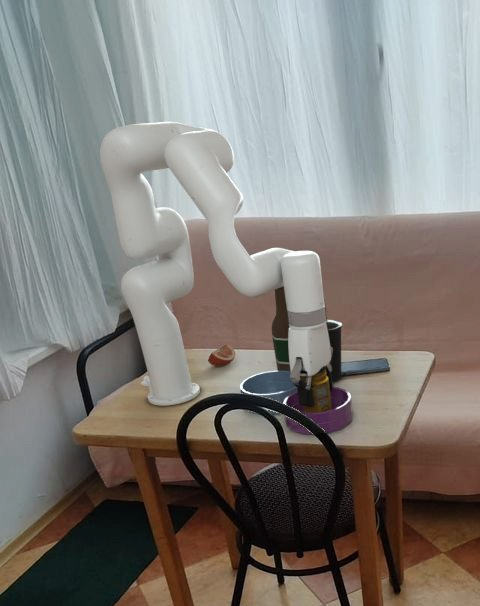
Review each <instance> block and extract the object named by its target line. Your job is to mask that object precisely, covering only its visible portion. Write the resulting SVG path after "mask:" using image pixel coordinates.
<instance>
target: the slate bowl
mask: <svg viewBox="0 0 480 606" xmlns="http://www.w3.org/2000/svg"><path fill="white" fill-rule="evenodd" d="M290 374H291V371H278V370H270V371H263V372H260V373H256V374H254V375H251V376H248V377H247V378H245V379H244V380H242V382H241V383H240V384H239V389H240V394H241V393H243V394H253V395H258V396H263V397H267V398H271V399H273V400H277V401H279V402H281V403H283V402H284V400H285V398H286V397H287V396H289V395H290V394H292V393H294V392H296V391H298V390H297V389H296V386H295V385H294V384H293V382H292V380H291V379H290ZM246 411H248V410H246ZM248 412H249V413H252V414H255V415H257V414H256V413H254V412H251V411H248ZM268 412H270V413H271V414H272V415H279V414H280V413H276V412H273V411H270V410H268Z"/></svg>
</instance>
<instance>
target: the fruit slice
mask: <svg viewBox="0 0 480 606" xmlns="http://www.w3.org/2000/svg"><path fill="white" fill-rule="evenodd" d="M235 357H236V351H235V349H234V348H233V347H232V346H231V345H230V344H229V343H225V344H224V345H223V346H221V347H220V348H218V349H216V350H214V351H212V352H211V353H210V355H209V357H208V359H207V362H208V363H209V364H210V365H211V366H214V367H225V366H228V365H229V364H230V363H232V362H233V361H234V359H235Z"/></svg>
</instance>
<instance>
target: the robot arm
mask: <svg viewBox="0 0 480 606" xmlns="http://www.w3.org/2000/svg"><path fill="white" fill-rule="evenodd" d="M99 159H100V160H99V161H100V166H101V169H102V172H103V175H104V177H105V180H106V183H107V185H108V189H109V193H110V197H111V203H112V208H113V214H114V219H115V224H116V229H117V235H118V240H119V244H120V247H121V249H122V252H123V253H124V254H125V256H126V257H128V258H129V259H132V260H137V261H141V260H147V259H151V258H153V257H158V259H156V260H153V261H149V262H146V263H142V264H139V265H136V266H134V267H132V268H130V269H129V270H126V272H125V273H124V274H123V276H122V277H121V281H120V290H121V293H122V295H123V296H122V297H123V298H124V301H125V303H126V305H127V306H128V309H129V311H130V314H131V316H132V319H133V323H134V327H135V329H136V332H137V337H138V340H139V343H140V347H141V351H142V355H143V359H144V364H145V366H146V367H145V368H146V370H147V374H148V375H145V376H144V377H143V380H142V381H141V382H140V386H141V387H142V388H148V390H149V392H148V393H147V395H146V398H147V401H148V402H149V403H150V404H151V405H154V406H158V407H159V406H160V407H163V406H164V407H165V406H166V407H167V406H175V405H180V404H183V403H187V402H189V401H192V400H193V399H195V398H197V397H198V396H199V394H200V393H201V388H200V385H199V384H198V383H196V382H194V381H193V382H192V377H191V373H190V368H189V363H188V359H187V355H186V350H185V345H184V341H183V337H182V333H181V328H180V325H179V321H178V319H177V317H176V316H175V315H174V313H173V312H172V311H171V309H170V308H169V307H168V304H169V303H172V302H173V301H176V300H179V299H181V298H183V297H185V296H187V295H189V293H191V291H192V290H193V288H194V283H195V272H194V264H193V258H192V249H191V242H190V236H189V234H190V233H189V231H188V227H187V225H186V223H185V220H184V219H183V217H182V216H181V214H179V212H178V211H176V210H175V209H173V208H171V207H167V206H161V207H156V203H155V196H154V192H153V189H152V186H151V185H150V183H149V181H148V179H147V178H146V177H145V176H144V175H143V174H142V173H145V172H152V171H159V170H164V169H169V171H171V172H172V174H173V176H174V177H175V178H176V180H177V182H178V183H179V184H180V185H181V187H182V188H183V190H184V191H185V192H186V193H187V195H188V197H189V198H190V199H191V201H192V202H193V203H194V205H195V206H196V207H197V210H198V211H199V212H200V213H201V214H202V216H203V218H204V219H205V220H206V222H207V227H208V229H207V230H208V241H209V245H210V249H211V253H212V256H213V259H214V261H215V263H216V265H217V266H218V268H219V269H220V271H221V272H222V274H223V275H224V276H225V277H226V279H227V280H228V282H229V283H230V285H232V286H233V288H235V289H236V291H237V292H238V293H240V294H241V295H243V296H245V297H248V298H257V297H261V296H264V295H265V294H268V293H271V292H272V291H275V289H278V288H280V287H283V286H284V291H285V299H286V306H287V314H288V321H289V327H290V328H289V332H288V348H289V362H290V370H291V374H290V379H291V380H292V382H293V384H294V385H295V386H296V389H297V390H298V397H299V404H300V405H301V406H308V407H313V406H314V399H313V391H312V388H310V385H311V379H312V376H313V375H315V374H316V373H317V372H319V370H320V369H321V368H322V367H323V366H325V367H326V376H327V377H328V379H329V387H330V390H332V389H333V387H334V385H333V382H332V375H331V371H332V367H331V363H332V353H333V348H332V347H331V346H330V341H329V335H328V330H327V325H326V316H327V312H326V313H325V306H326V303H325V304H324V299H325V295H324V287H323V276H322V267H321V259H320V256H319V254H318V253H316V252H315V251H312V250H297V251H296V250H295V251H294V250H289V249H286V248H283V247H282V248H281V247H272V248H268V249H265V250H264V251H263V250H262V251H259V252H256V253H254V254H249V252H248V251H247V250H246V248H245V246H243V244H242V243H241V241H240V239H239V238H238V235H237V233H236V230H235V229H236V228H235V217H236V216H237V214H238V213H239V212H240V210H241V209H242V207H243V204H244V196H243V193H242V192H241V191H240V190H239V188H238V186H236V184H235V183H234V181H233V180H232V178H231V177H230V176H229V175H228V173H229V172H230V171H231V170H232V167H233V166H234V161H235V160H234V159H235V153H234V150H233V148H232V145H231V144H230V142H229V140H228V139H227V138H226V136H224V135H223V134H222V133H220V132H219V131H217V130H215V129H210V128H205V127H201V126H195V125H191V124H185V123H181V122H176V121H160V122H149V123H147V122H145V123H131V124H126V125H121V126H118V127H116V128H114V129H111V130H110V131H108V132H107V133H106V134H105V136H103V138H102V141H101V143H100V148H99ZM302 371H307V374H305V373H302ZM302 377H307V378H306V383H305V382H304V381H303V380H302Z"/></svg>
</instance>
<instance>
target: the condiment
mask: <svg viewBox="0 0 480 606" xmlns="http://www.w3.org/2000/svg"><path fill="white" fill-rule="evenodd" d="M302 373H305V374H307V371H302ZM306 378H307V377H302V380H303V381H304V382H305V383H306ZM310 388H312V391H313V399H314V406H313V407H308V406H303V409H304V413H318V412H325V411H329V410H332V405H331V396H330V387H329V379H328V377H327V376H326V367H325V366H323V367H322V368H321V369H320V370H319V372H317V373H316V374H315V375H313V376H312V379H311V385H310Z"/></svg>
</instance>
